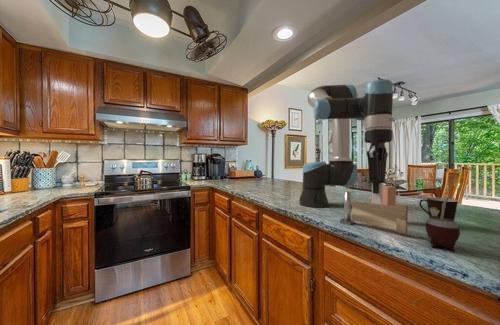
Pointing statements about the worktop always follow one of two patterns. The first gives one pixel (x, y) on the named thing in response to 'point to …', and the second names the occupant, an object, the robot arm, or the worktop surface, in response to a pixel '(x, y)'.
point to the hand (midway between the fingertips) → (377, 203)
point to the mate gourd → (442, 231)
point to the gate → (381, 215)
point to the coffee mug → (440, 207)
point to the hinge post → (347, 209)
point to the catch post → (389, 195)
